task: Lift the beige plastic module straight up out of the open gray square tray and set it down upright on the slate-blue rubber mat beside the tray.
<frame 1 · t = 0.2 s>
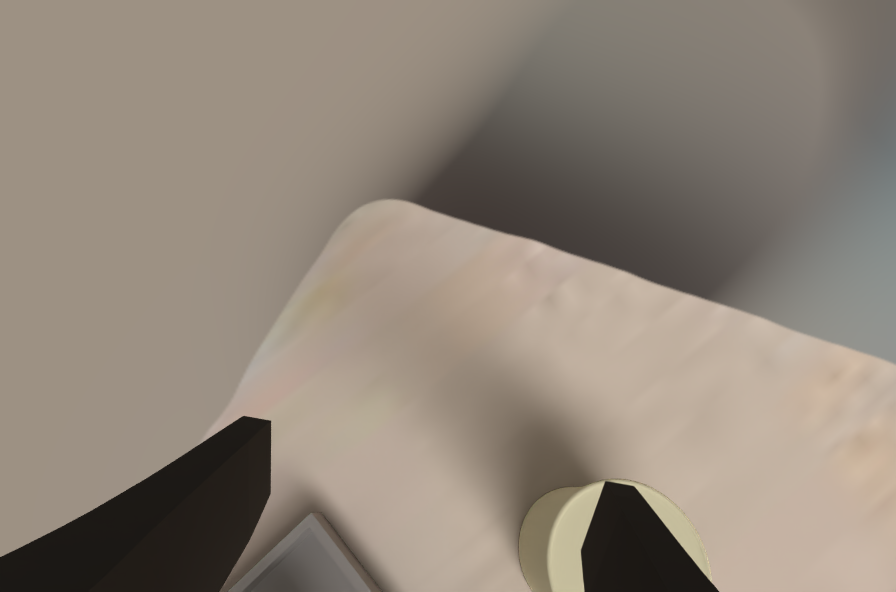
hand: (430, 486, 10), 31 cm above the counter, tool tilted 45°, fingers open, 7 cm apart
can: (577, 550, 37), on the counter
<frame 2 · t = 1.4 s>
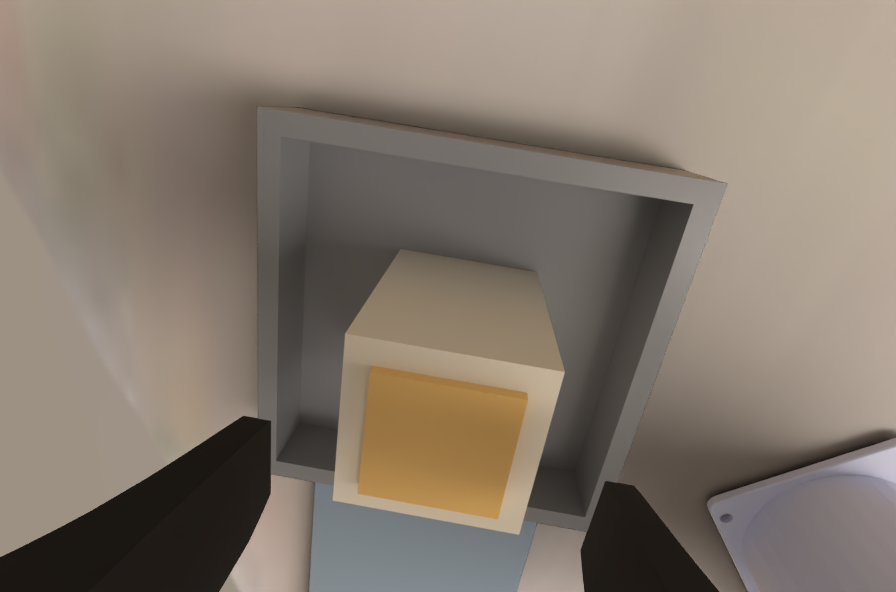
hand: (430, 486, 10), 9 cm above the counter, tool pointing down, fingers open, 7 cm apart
mat: (415, 561, 24), on the counter
gray square tray: (458, 315, 19), on the counter
module: (457, 322, 18), point 1 cm above the counter, touching gray square tray
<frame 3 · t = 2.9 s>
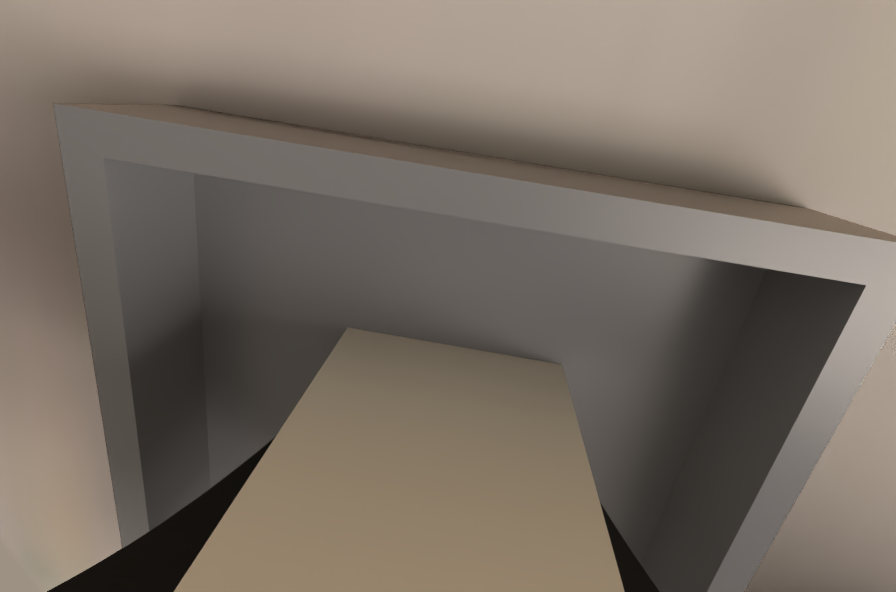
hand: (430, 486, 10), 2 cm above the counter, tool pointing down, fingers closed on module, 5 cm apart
gray square tray: (441, 418, 12), on the counter
module: (438, 433, 12), point 1 cm above the counter, touching gray square tray, gripper
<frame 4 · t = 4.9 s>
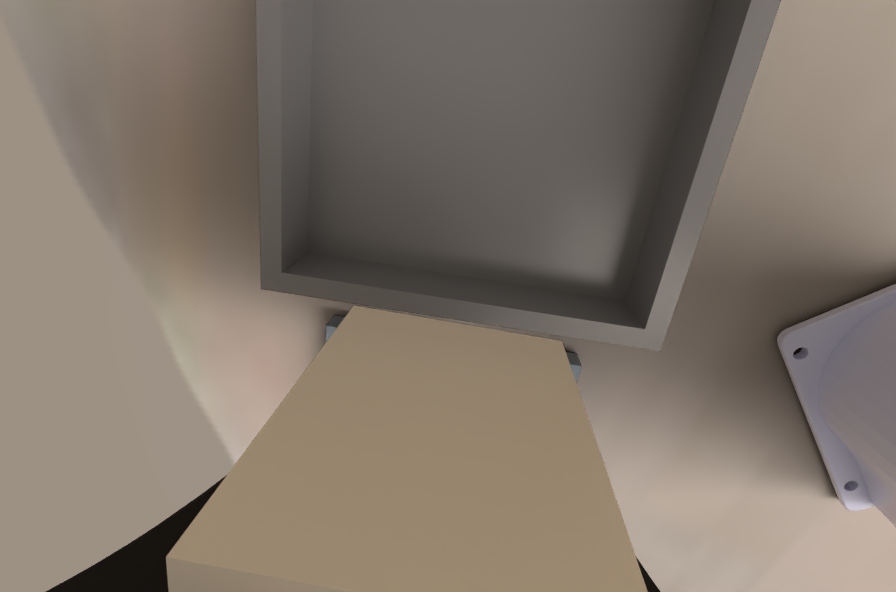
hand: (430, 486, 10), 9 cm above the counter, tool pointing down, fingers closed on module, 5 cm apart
mat: (439, 433, 21), on the counter
gray square tray: (491, 104, 16), on the counter
module: (442, 411, 12), point 7 cm above the counter, touching gripper
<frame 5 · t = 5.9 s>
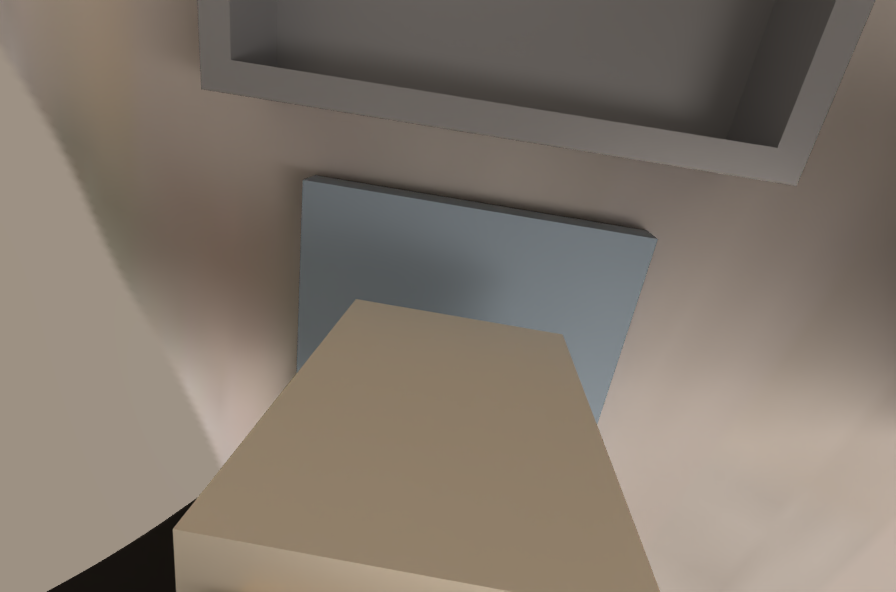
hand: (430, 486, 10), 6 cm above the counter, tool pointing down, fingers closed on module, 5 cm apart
mat: (453, 349, 16), on the counter
module: (443, 406, 12), point 4 cm above the counter, touching gripper
when the fingers open (4 cm above the counter, at t = 6.8 s): module stays where it is, resting on mat.
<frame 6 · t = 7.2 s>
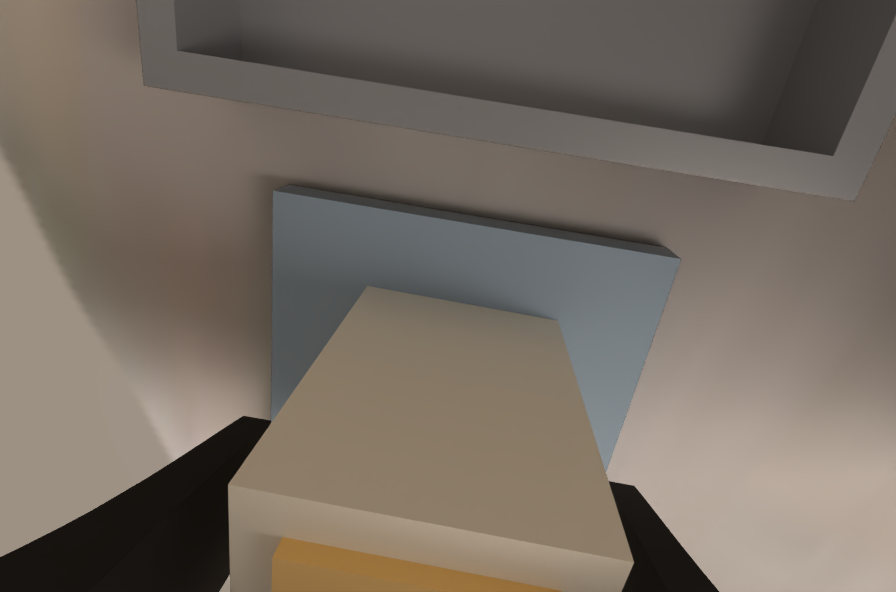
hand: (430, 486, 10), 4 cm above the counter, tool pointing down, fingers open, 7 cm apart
mat: (447, 378, 14), on the counter
module: (447, 384, 13), point 1 cm above the counter, touching mat
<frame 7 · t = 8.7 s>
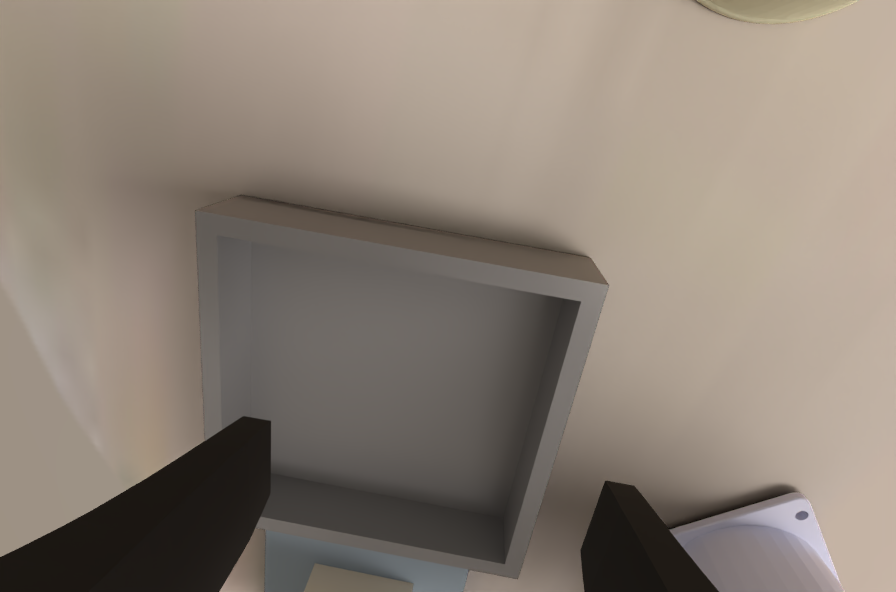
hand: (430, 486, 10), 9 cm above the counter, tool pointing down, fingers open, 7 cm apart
gray square tray: (393, 377, 20), on the counter
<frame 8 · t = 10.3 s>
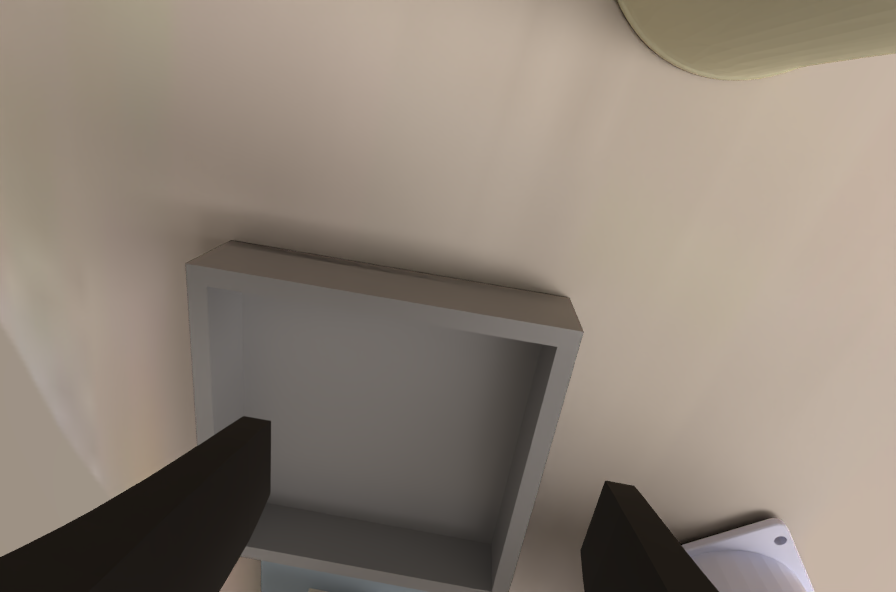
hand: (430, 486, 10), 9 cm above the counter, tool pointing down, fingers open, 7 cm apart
gray square tray: (382, 410, 21), on the counter
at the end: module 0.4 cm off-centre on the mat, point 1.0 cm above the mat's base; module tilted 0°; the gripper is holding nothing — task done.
